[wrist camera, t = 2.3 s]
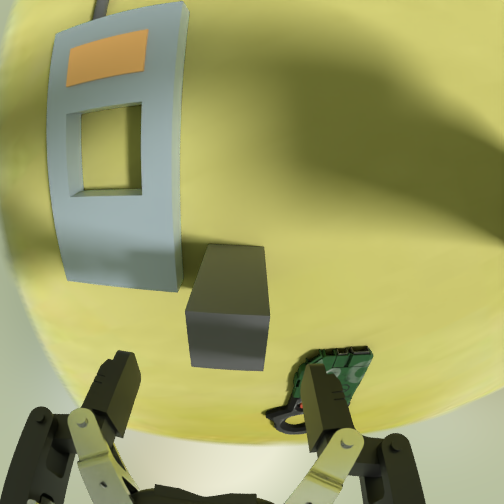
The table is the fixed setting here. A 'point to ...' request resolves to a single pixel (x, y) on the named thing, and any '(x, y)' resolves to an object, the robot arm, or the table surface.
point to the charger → (229, 309)
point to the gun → (337, 363)
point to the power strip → (152, 146)
